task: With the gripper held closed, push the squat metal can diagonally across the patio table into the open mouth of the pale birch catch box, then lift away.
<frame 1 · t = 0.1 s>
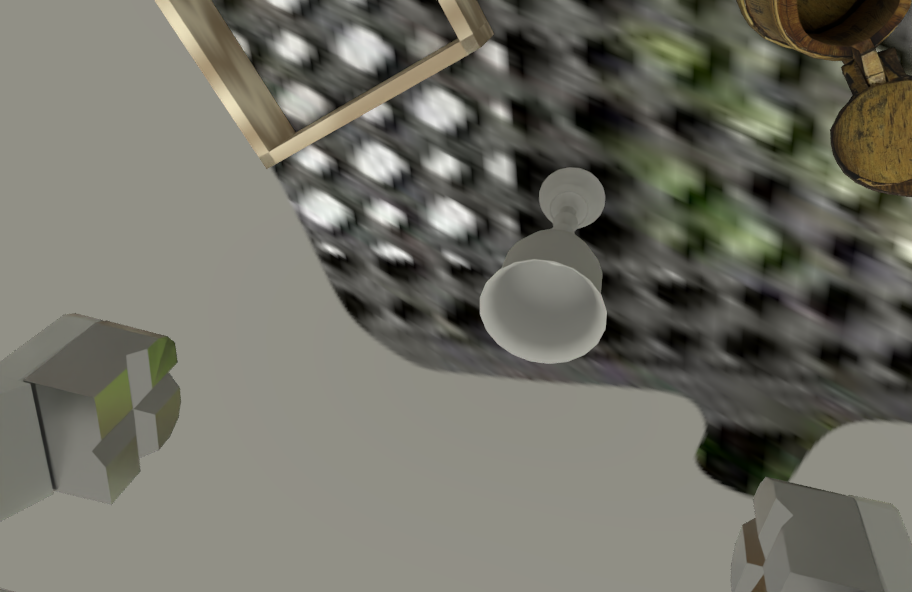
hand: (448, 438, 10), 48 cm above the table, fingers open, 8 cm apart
wooden mug: (818, 7, 49), on the table
chalice: (572, 197, 59), on the table
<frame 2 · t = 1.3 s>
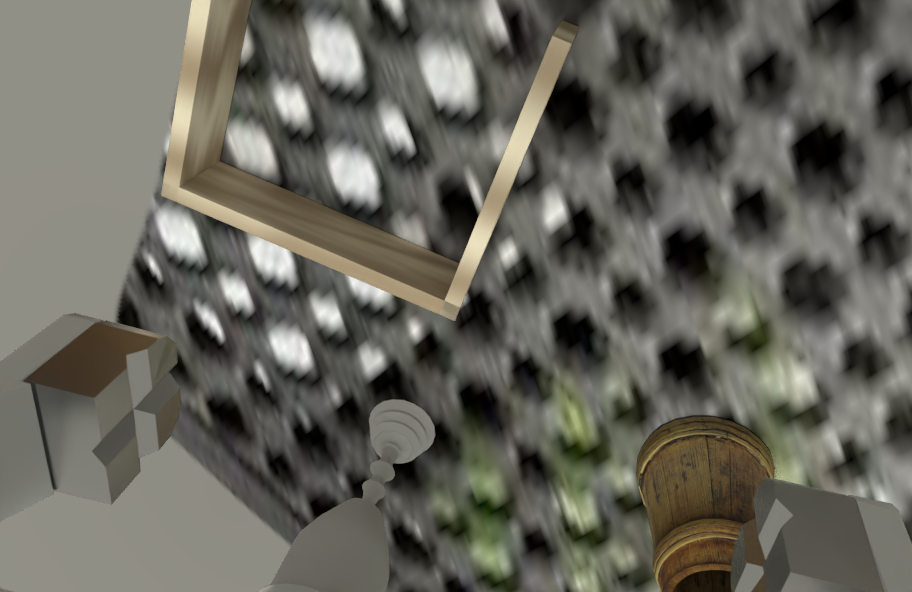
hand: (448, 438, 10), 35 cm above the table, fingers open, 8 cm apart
catch box: (372, 105, 45), on the table
wooden mug: (685, 488, 54), on the table
chalice: (402, 426, 57), on the table
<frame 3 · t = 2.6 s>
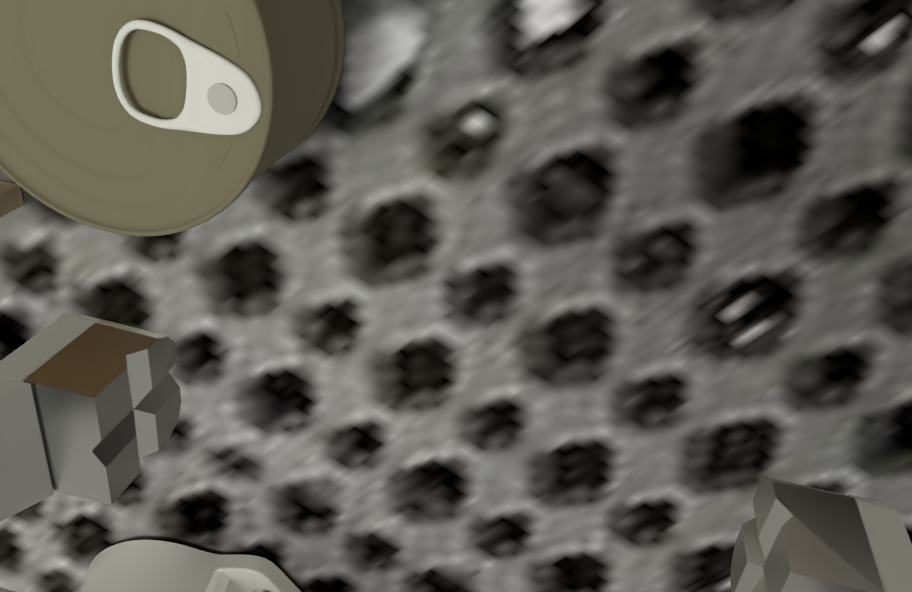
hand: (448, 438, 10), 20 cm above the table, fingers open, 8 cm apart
can: (204, 19, 29), on the table
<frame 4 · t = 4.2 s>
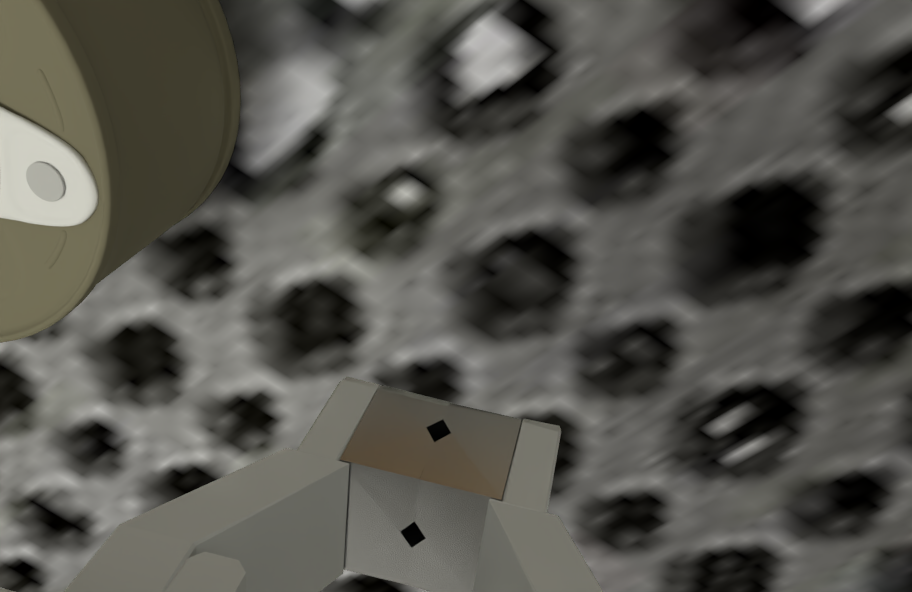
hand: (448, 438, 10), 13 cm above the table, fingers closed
can: (70, 59, 24), on the table
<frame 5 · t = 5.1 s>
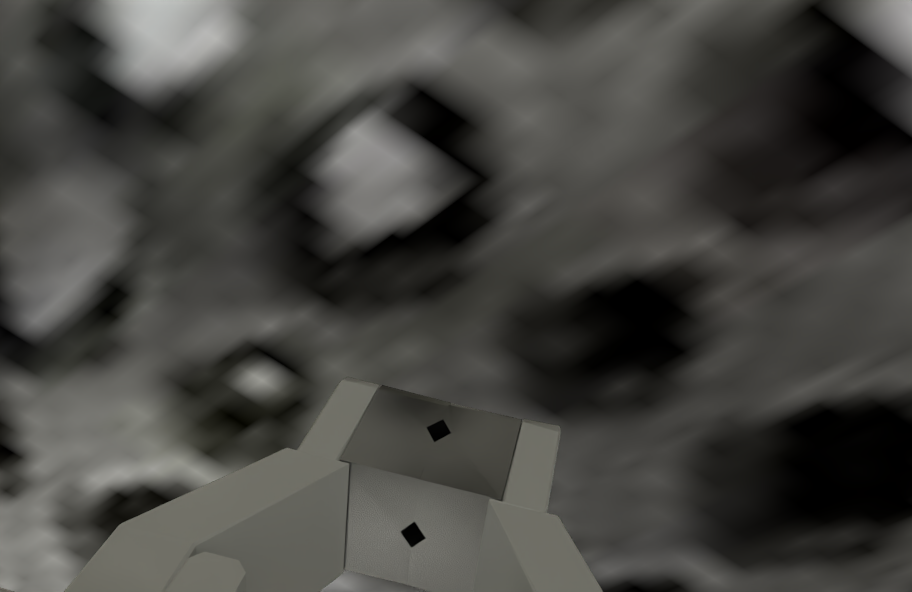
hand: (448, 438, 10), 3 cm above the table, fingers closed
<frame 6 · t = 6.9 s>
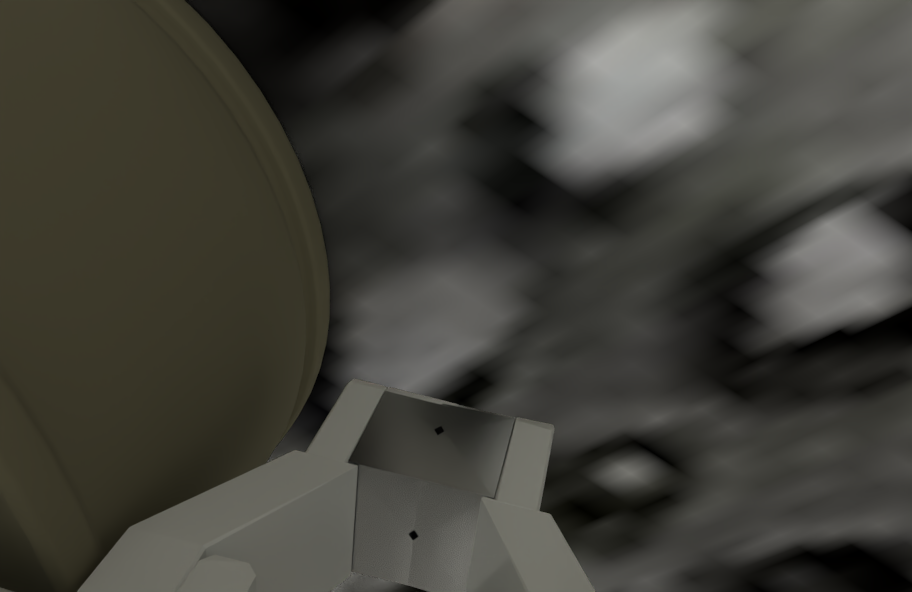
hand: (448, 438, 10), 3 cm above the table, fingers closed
can: (36, 235, 14), on the table, touching gripper
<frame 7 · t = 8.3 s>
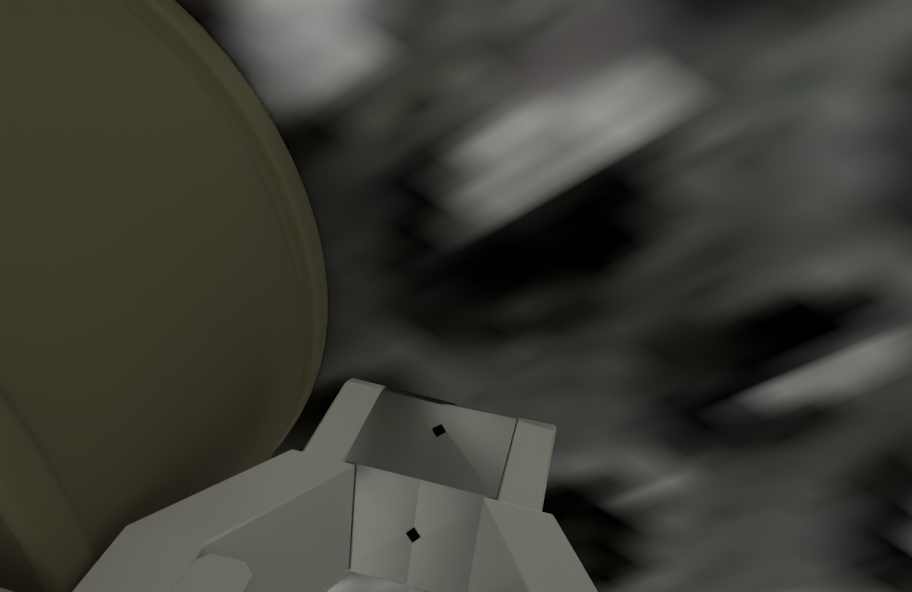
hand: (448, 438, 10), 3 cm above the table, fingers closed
can: (34, 241, 14), on the table, touching gripper
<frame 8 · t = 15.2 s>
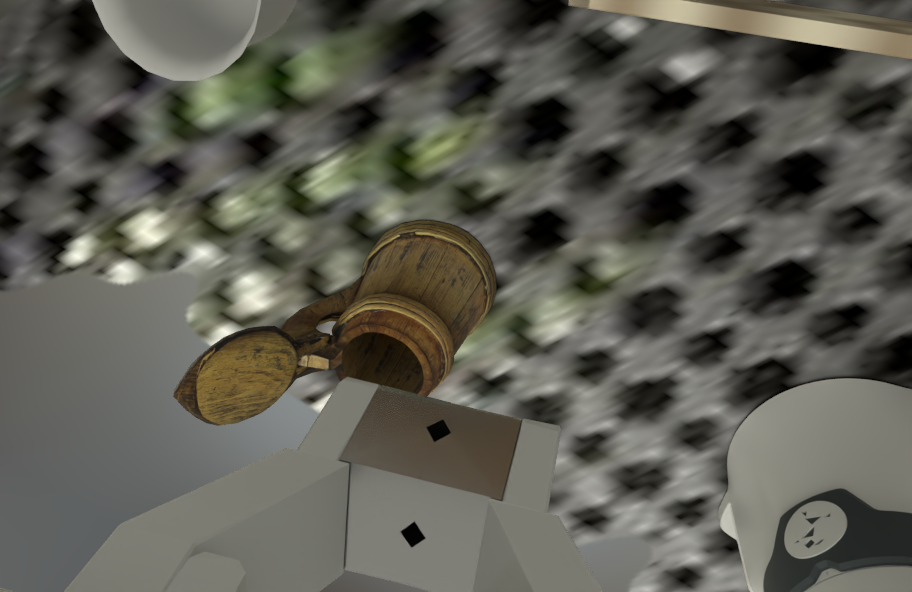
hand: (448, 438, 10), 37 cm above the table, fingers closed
wooden mug: (401, 269, 53), on the table
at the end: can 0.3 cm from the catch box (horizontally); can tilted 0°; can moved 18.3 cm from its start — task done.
